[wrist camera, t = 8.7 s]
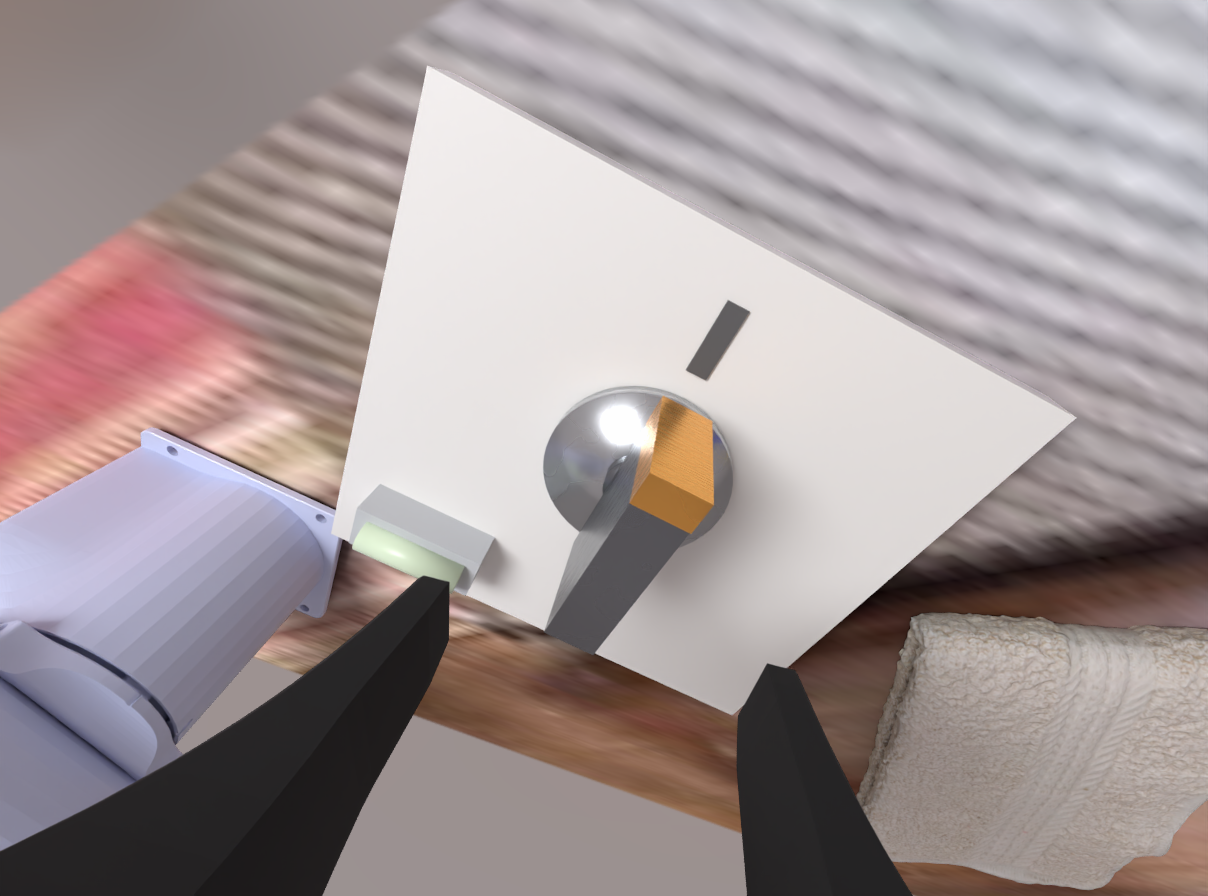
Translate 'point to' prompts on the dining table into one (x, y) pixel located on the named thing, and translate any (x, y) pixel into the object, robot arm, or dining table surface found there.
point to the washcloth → (1039, 746)
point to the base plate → (659, 360)
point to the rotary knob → (629, 499)
